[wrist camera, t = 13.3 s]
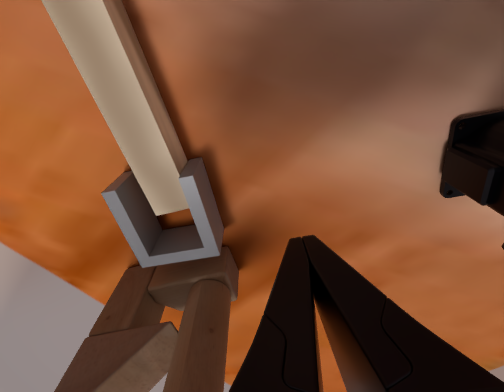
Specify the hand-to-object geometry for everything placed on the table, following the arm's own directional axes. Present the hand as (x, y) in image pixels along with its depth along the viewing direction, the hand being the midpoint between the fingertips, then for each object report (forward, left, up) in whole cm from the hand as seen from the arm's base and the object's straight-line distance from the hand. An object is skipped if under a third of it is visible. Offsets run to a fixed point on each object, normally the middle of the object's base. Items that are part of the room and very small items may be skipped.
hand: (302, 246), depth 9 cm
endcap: (+9, +3, -12) cm, 15 cm away
